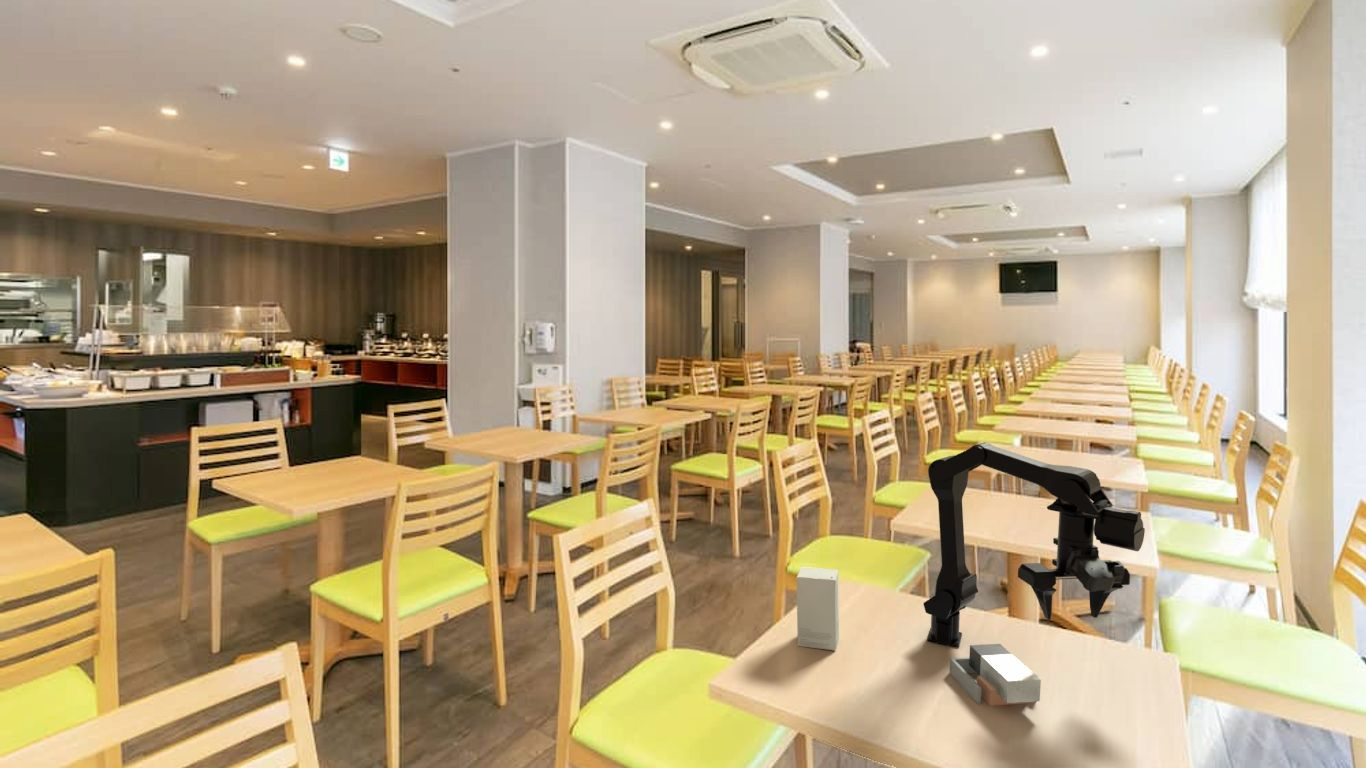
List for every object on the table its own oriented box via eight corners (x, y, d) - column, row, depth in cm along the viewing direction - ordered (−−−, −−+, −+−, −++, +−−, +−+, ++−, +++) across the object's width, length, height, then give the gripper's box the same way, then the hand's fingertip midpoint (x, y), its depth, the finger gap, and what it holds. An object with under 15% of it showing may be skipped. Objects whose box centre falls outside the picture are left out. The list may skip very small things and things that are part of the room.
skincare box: (839, 638, 151) (840, 569, 149) (835, 652, 145) (837, 580, 143) (800, 633, 154) (801, 564, 152) (795, 646, 148) (796, 575, 146)
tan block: (976, 691, 130) (977, 675, 130) (1012, 689, 131) (1012, 673, 131) (990, 706, 125) (991, 690, 125) (1027, 704, 126) (1028, 688, 126)
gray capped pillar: (1007, 703, 121) (969, 665, 134) (1039, 701, 122) (998, 663, 135) (1008, 681, 121) (969, 645, 134) (1040, 679, 121) (999, 643, 134)
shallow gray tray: (949, 672, 137) (950, 658, 136) (1004, 669, 138) (1004, 655, 137) (977, 703, 126) (978, 688, 126) (1036, 700, 127) (1037, 684, 127)
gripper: (1054, 554, 121) (1049, 640, 122) (1155, 550, 122) (1149, 635, 124) (1018, 533, 132) (1014, 613, 133) (1111, 530, 133) (1106, 608, 135)
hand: (1070, 617), depth 131 cm, fingers open, 9 cm apart
